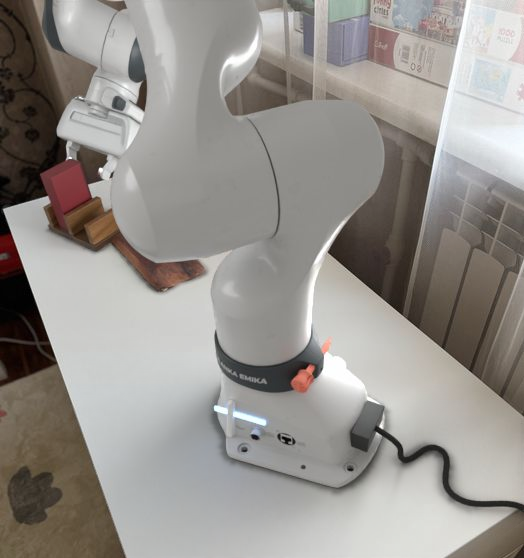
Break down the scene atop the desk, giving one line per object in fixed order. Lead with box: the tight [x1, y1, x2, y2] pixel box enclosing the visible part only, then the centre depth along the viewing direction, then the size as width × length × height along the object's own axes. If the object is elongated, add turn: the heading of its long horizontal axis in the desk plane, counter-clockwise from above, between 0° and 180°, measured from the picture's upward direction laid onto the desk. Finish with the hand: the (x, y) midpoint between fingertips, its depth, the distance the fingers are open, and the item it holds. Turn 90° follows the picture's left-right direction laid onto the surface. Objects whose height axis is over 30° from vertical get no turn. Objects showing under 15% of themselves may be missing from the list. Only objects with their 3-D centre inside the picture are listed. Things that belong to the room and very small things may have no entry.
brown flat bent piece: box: [110, 232, 205, 293], centre depth 100 cm, size 26×2×10 cm
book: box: [39, 158, 93, 229], centre depth 103 cm, size 3×7×11 cm, turn 144°
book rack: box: [42, 195, 121, 253], centre depth 104 cm, size 14×9×5 cm, turn 54°
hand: (85, 172), depth 104 cm, fingers open, 8 cm apart
